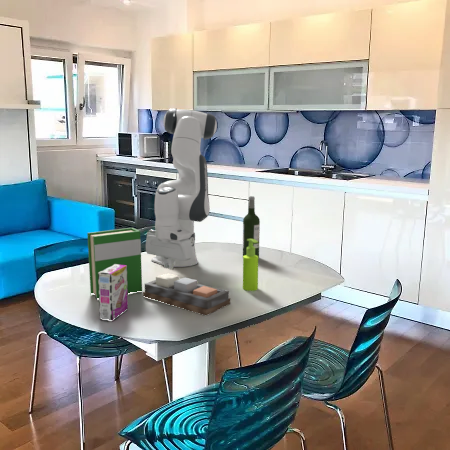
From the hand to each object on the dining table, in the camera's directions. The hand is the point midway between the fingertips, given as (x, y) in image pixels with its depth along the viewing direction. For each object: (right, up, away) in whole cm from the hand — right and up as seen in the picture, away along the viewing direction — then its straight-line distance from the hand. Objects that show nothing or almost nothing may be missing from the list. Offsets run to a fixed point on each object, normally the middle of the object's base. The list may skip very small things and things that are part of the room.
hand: (168, 268), depth 181 cm
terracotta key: (+14, -10, -9) cm, 19 cm away
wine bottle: (+33, 0, +54) cm, 64 cm away
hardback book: (-20, -10, +4) cm, 23 cm away
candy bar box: (-16, -14, -17) cm, 27 cm away
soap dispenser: (+31, -9, +10) cm, 34 cm away
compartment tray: (+7, -11, -3) cm, 14 cm away
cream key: (-1, -6, +1) cm, 7 cm away
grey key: (+7, -7, -4) cm, 11 cm away
